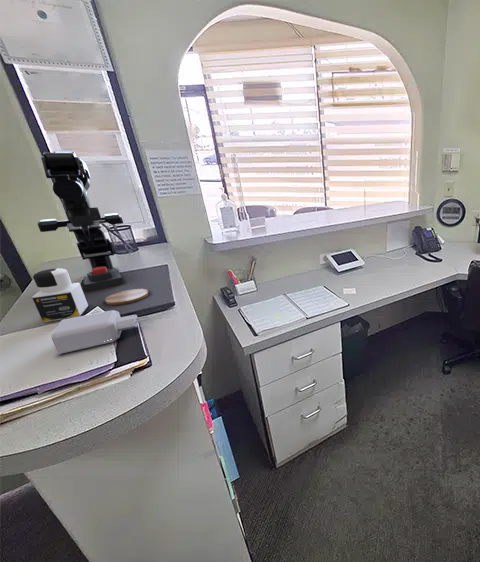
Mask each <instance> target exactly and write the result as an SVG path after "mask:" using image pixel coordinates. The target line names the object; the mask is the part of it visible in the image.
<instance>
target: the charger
mask: <svg viewBox="0 0 480 562" xmlns="http://www.w3.org/2000/svg"><path fill="white" fill-rule="evenodd" d="M147 318H148V316H147V315H144V316H143V315H142V316H138V314H131V315H126V316H121V314H120V312H119V311H118V310H114V309H111V310H107V311H106V310H105V311H102V312H96V313H95V312H94V313H91V314H85V315H80V316H79V317H74V318H68V319H62V320H60V322H59V323H58V325H57V326H56V327H55V329H54V330H53V332H52V334H51V341H52V343H53V345H54V348H55V349H56V353H57V354H58V355H62V354H67V353H71V352H76V351H80V350H84V349H88V348H92V347H93V348H94V347H98V346H101V345H105V344H110V343H114V342H116V341H117V340H118V339H120V338H121V333H122V331H125V330H131V329H135V328H138V324H139V323H141V322H146V321H147ZM110 339H112V340H110ZM107 340H109V341H107ZM104 341H105V342H104Z"/></svg>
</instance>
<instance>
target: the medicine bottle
mask: <svg viewBox="0 0 480 562" xmlns="http://www.w3.org/2000/svg"><path fill="white" fill-rule="evenodd" d="M32 278H33V281H34V283H35V285H36V287H37V290H38V291H37V292H36V293H35V294H33V295H32V297H31V298H32V301H33V303H34V306H35V307H36V310H37V312H38V314H39V316H40V318H41V321H42V322H43V323H49V322H56V321H62V320H64V319H69V318H74V317H79V316H82V314H83V313H84V312H85V311H86V310H87V308H88V307H89V303H88V301H87V299H86V296H85V293H84V290H83V287H82V286H81V283H80V282H72V280H71V278H70V275H69V272H68V270H67V269H65V268H60V267H56V268H48V269H44V270H40V271H38V272H36V273H34V274H33V275H32Z"/></svg>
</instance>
